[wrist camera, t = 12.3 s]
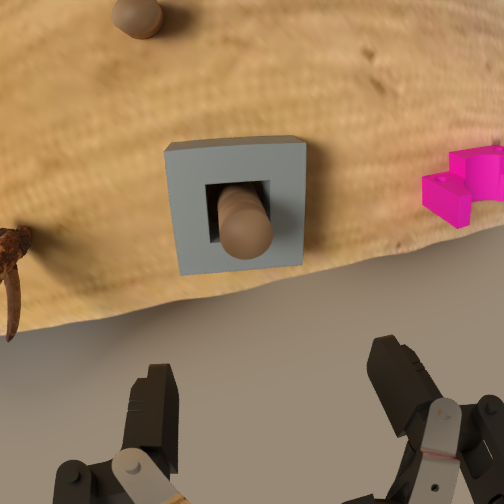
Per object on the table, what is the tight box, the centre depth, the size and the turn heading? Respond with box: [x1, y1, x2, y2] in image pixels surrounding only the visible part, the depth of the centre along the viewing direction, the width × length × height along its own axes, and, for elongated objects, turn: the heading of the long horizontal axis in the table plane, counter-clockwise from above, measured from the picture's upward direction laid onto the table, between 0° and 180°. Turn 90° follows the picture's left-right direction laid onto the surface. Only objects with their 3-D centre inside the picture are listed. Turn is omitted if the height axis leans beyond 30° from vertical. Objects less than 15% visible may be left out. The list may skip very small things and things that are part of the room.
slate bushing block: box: [164, 136, 306, 276], centre depth 31 cm, size 12×12×5 cm
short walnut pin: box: [111, 0, 164, 39], centre depth 21 cm, size 4×4×4 cm
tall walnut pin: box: [217, 181, 273, 260], centre depth 29 cm, size 4×4×10 cm
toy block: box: [422, 145, 504, 229], centre depth 31 cm, size 15×6×8 cm, turn 103°
